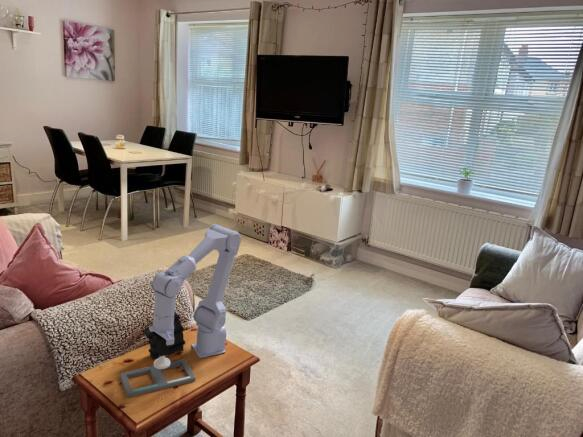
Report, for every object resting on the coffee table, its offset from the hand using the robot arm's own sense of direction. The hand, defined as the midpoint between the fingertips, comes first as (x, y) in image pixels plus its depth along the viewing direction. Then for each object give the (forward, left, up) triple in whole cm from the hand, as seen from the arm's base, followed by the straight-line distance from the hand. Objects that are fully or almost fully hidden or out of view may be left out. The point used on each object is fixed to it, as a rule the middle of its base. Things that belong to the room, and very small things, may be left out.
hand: (161, 352), depth 130 cm
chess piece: (0, 0, -4) cm, 4 cm away
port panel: (+1, 0, -9) cm, 9 cm away
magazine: (-4, -12, -9) cm, 16 cm away
